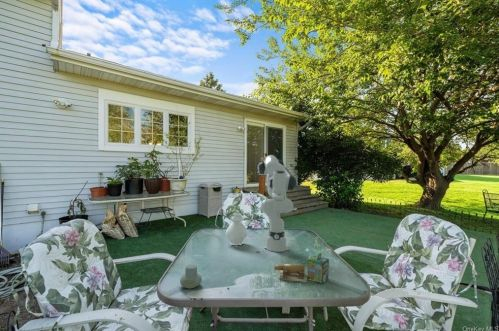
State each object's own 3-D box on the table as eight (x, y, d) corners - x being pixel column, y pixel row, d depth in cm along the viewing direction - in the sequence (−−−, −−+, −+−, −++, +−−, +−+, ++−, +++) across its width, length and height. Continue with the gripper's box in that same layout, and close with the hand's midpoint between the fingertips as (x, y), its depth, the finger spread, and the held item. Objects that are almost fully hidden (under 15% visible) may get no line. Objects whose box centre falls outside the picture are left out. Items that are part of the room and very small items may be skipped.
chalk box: (313, 274, 147) (314, 249, 147) (329, 279, 141) (329, 252, 142) (306, 279, 140) (307, 253, 140) (322, 284, 134) (322, 257, 134)
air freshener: (202, 282, 134) (203, 263, 134) (200, 289, 125) (200, 269, 126) (182, 282, 133) (182, 263, 133) (178, 289, 125) (178, 269, 125)
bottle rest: (279, 272, 149) (280, 264, 149) (305, 274, 147) (305, 265, 147) (279, 280, 138) (279, 271, 138) (307, 282, 136) (307, 273, 136)
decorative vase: (247, 247, 196) (247, 215, 197) (224, 247, 196) (225, 215, 197) (247, 241, 214) (248, 212, 214) (227, 240, 214) (227, 211, 215)
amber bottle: (274, 264, 148) (274, 261, 144) (303, 266, 145) (304, 263, 141) (274, 273, 145) (274, 270, 141) (304, 275, 142) (304, 273, 138)
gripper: (274, 194, 169) (274, 214, 169) (273, 197, 149) (273, 220, 149) (284, 194, 169) (283, 215, 168) (284, 197, 148) (283, 220, 148)
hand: (278, 217), depth 158 cm, fingers open, 8 cm apart
